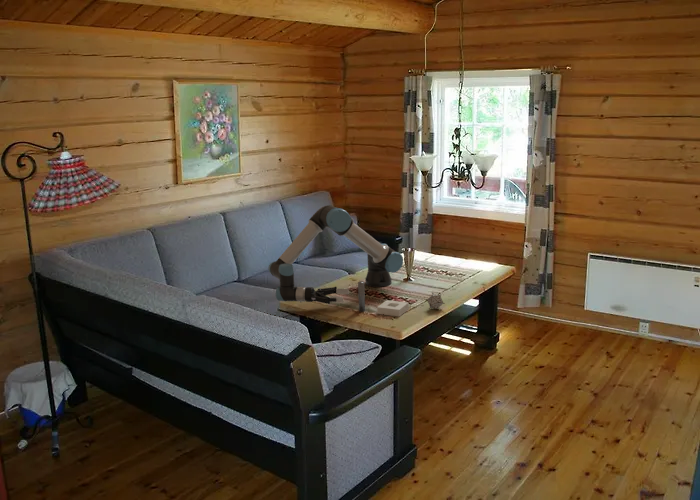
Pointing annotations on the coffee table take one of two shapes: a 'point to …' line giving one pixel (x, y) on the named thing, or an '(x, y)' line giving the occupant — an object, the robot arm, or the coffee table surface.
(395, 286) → the coffee table surface
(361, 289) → the pin
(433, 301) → the game die
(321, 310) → the coffee table surface
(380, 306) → the socket block
